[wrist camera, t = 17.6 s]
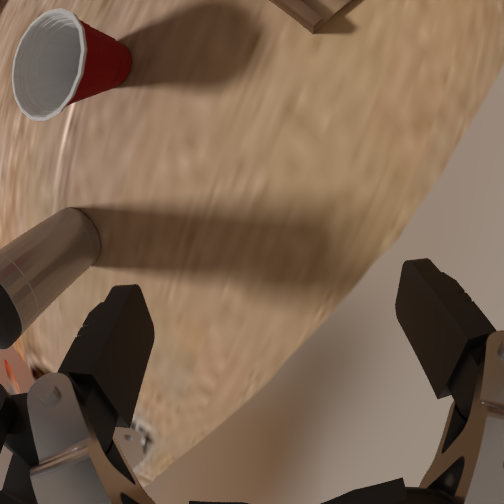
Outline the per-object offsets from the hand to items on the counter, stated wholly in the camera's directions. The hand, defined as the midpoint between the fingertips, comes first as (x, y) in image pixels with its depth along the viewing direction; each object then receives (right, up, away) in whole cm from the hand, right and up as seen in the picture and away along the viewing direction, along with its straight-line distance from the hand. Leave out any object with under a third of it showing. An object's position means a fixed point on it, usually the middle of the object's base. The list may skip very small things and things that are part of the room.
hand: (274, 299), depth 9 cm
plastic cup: (-17, +23, +20) cm, 35 cm away
